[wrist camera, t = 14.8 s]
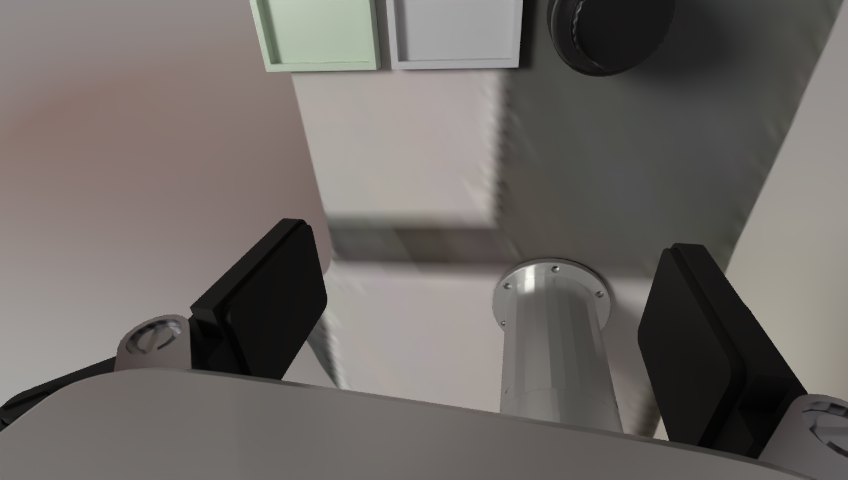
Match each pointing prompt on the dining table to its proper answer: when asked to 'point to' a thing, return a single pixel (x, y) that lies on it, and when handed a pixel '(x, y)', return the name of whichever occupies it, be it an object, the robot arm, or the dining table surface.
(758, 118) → the dining table surface
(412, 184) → the dining table surface
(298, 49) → the tray green
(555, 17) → the supplement bottle
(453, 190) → the dining table surface
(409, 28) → the tray grey
